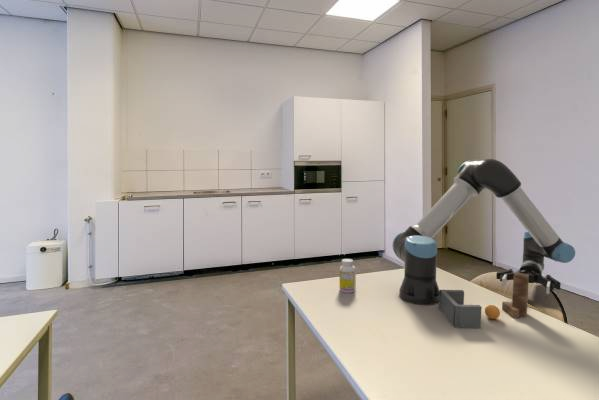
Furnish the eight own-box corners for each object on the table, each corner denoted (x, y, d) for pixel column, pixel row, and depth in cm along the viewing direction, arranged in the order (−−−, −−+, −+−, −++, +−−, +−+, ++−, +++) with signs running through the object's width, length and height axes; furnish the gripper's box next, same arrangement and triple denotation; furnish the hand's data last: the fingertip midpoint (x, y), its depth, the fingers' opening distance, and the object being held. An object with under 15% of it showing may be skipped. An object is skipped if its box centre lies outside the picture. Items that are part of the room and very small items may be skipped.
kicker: (499, 315, 119) (501, 275, 118) (502, 308, 125) (504, 270, 123) (524, 320, 114) (526, 279, 113) (526, 313, 120) (528, 274, 119)
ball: (482, 315, 119) (482, 302, 118) (495, 315, 119) (496, 303, 118) (488, 321, 114) (488, 308, 114) (502, 321, 114) (503, 308, 114)
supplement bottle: (344, 286, 149) (344, 257, 148) (358, 289, 145) (358, 259, 144) (336, 291, 143) (336, 260, 142) (350, 294, 140) (351, 263, 138)
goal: (438, 308, 125) (439, 289, 124) (461, 308, 124) (462, 290, 124) (454, 327, 110) (455, 306, 109) (480, 328, 109) (481, 306, 109)
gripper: (568, 287, 134) (567, 304, 117) (495, 275, 149) (485, 288, 133) (569, 268, 133) (569, 282, 116) (496, 258, 148) (486, 269, 132)
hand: (524, 286), depth 125 cm, fingers open, 13 cm apart
